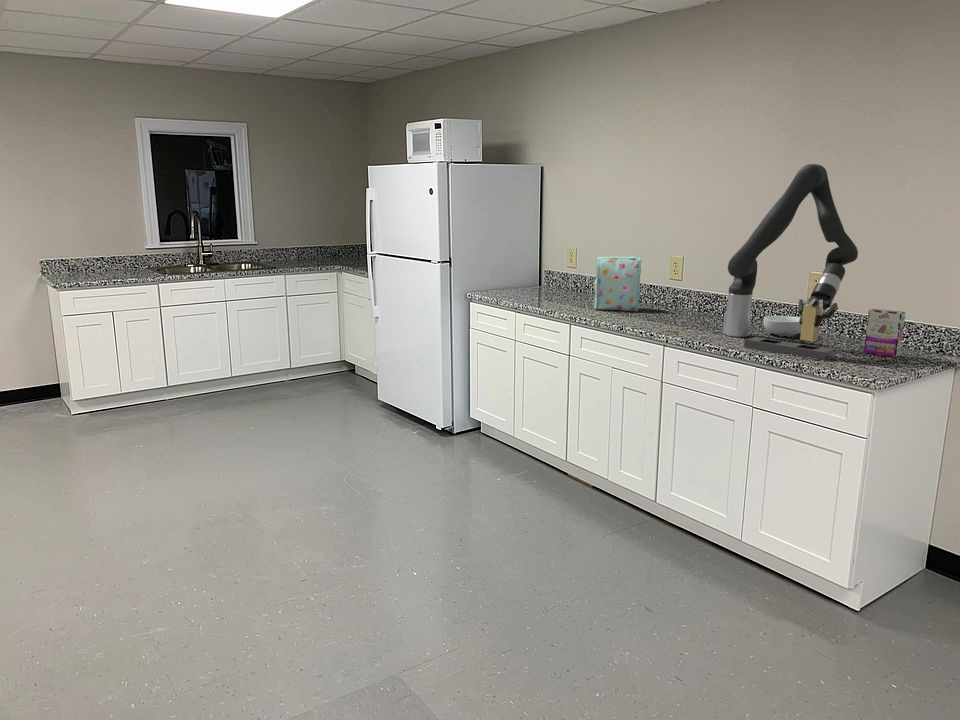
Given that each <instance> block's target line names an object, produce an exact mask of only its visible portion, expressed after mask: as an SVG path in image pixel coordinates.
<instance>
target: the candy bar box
mask: <svg viewBox="0 0 960 720" xmlns="http://www.w3.org/2000/svg"><path fill="white" fill-rule="evenodd" d="M905 319H906V311H901V310H899V311H898V310H890V309H889V310H888V309H882V308H881V309H879V308H871V309H868V315H867V323H866V331H865V339H864V347H863V353H864V354H867V353H871V354H870V355H874V354H877V355H876V356H881V355H882V356H883V357H890V358H897V357H900V356H901V349H902V343H903V335H904V327H905Z"/></svg>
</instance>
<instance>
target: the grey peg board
mask: <svg viewBox="0 0 960 720" xmlns="http://www.w3.org/2000/svg"><path fill="white" fill-rule="evenodd" d="M743 348H744V349H745V348H746V349H751V350H757V351H762V350H763V352H764V351H765V352H768V351H770V352H769V353H775V352H776V354H781V353H784V354H783V355H787V354H792V355H791V356H793V355H798V356H797V357H799V356H804V357H803V358H805V357H811V358H816V359H815V360H817V359H821V360H820V361H823V360H825V361H827V360H826V359H828V360H830V359H829V358H831V359H833V358H832V357H834V358H835V357H836V350H837V349H836V348H830V347H823V346H817V345H811V344H804V343H797V342H790V341H784V340H778V339H773V338H772V339H771V338H766V337H765V338H764V337H760V336H759V337H757V336H755V337H750V338H746V339H744V341H743ZM811 358H810V359H811Z"/></svg>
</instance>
